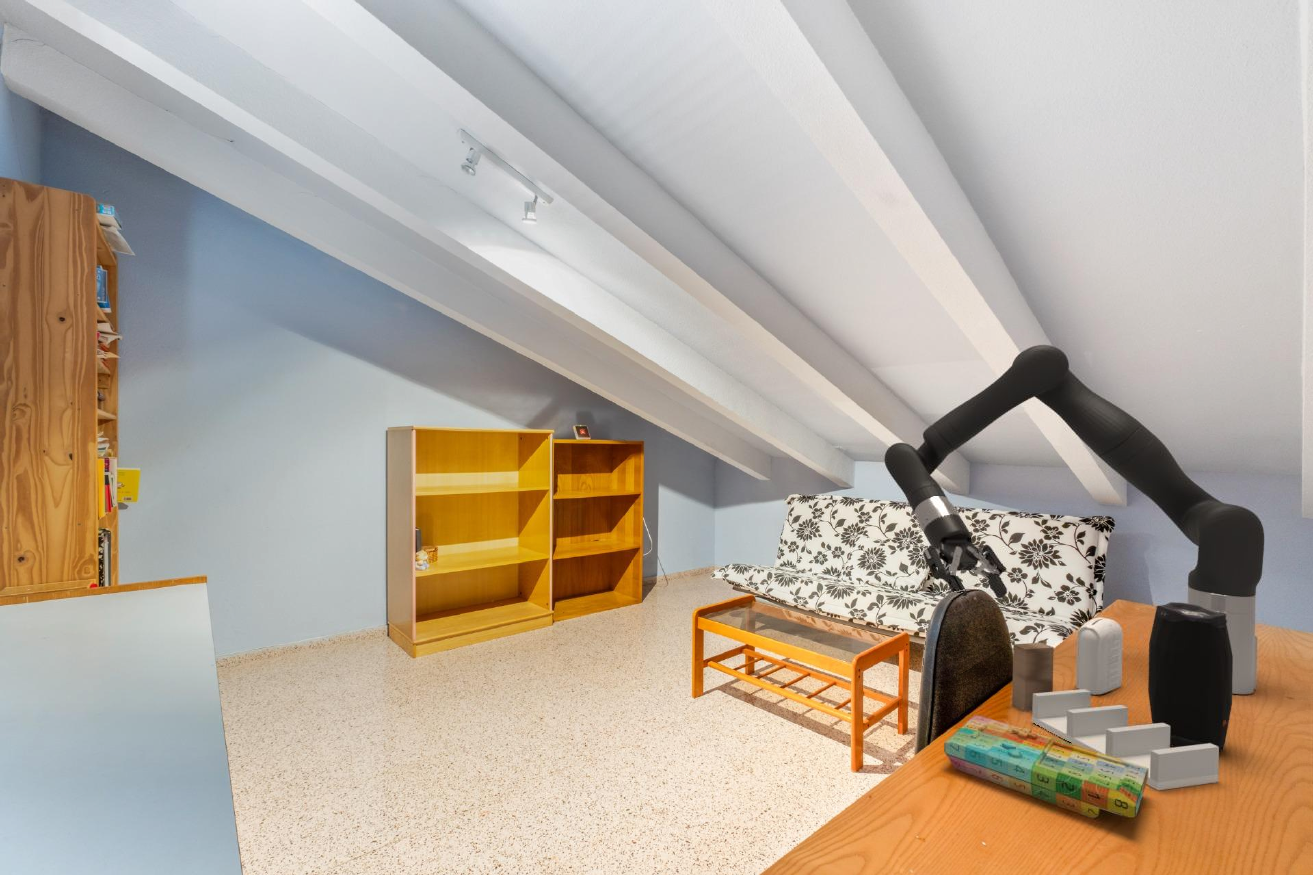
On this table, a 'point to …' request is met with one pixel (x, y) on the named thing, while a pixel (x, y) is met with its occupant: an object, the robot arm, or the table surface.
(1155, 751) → the slotted rack
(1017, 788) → the puzzle game
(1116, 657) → the photo printer
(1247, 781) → the table surface
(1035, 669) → the walnut block
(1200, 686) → the portable speaker
